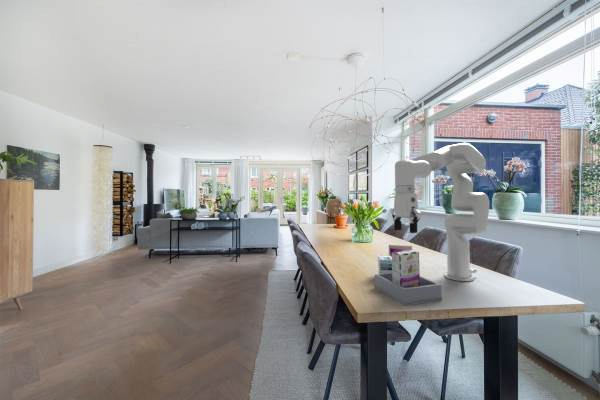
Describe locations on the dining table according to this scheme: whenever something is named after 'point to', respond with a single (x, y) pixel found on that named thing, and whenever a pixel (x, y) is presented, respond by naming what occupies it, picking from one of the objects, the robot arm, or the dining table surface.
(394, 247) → the pink printed box
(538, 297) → the dining table surface
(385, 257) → the light bulb box
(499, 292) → the dining table surface
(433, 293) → the tray
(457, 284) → the dining table surface
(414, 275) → the candy bar box
